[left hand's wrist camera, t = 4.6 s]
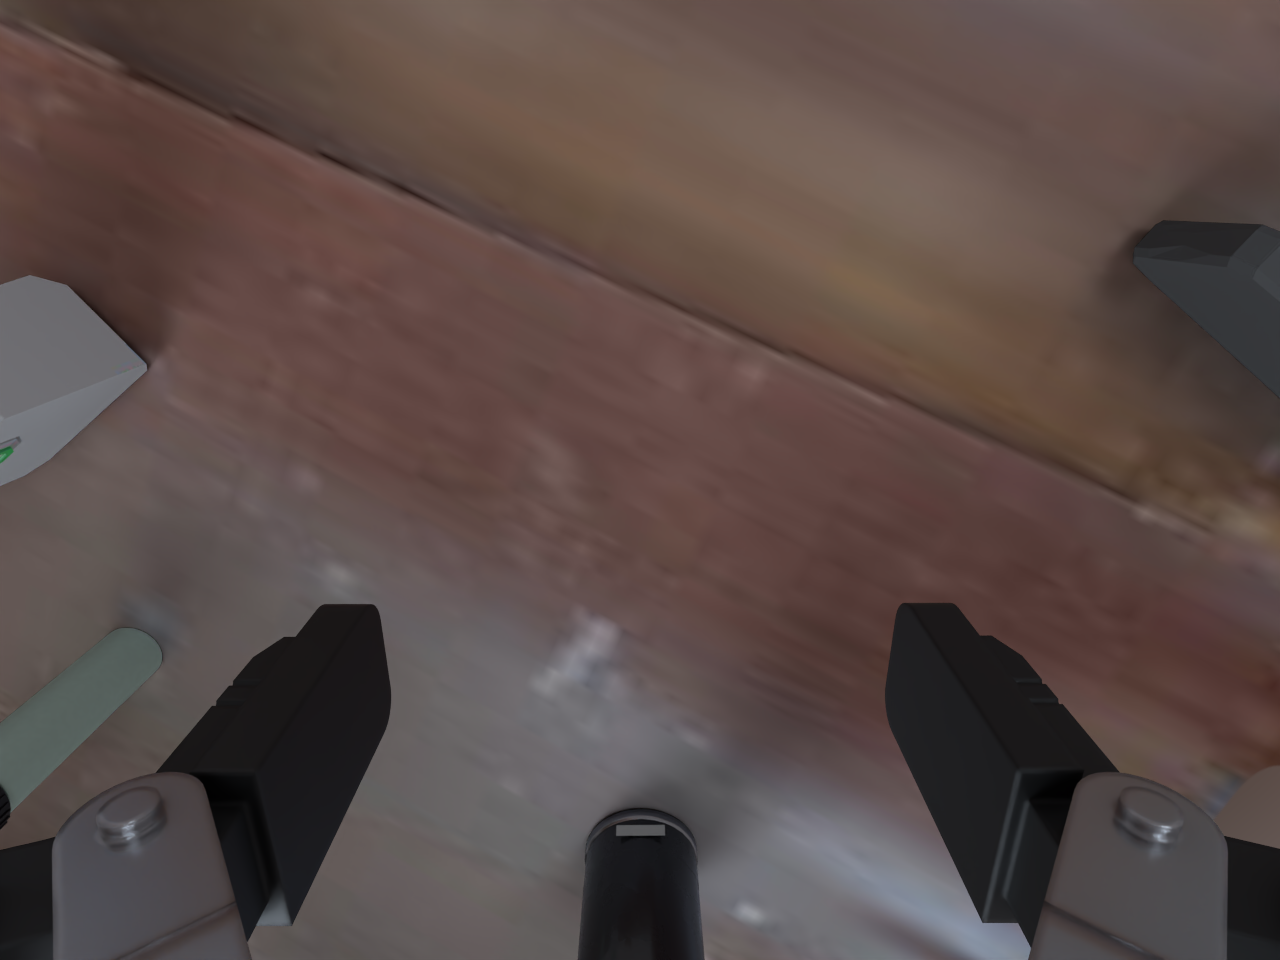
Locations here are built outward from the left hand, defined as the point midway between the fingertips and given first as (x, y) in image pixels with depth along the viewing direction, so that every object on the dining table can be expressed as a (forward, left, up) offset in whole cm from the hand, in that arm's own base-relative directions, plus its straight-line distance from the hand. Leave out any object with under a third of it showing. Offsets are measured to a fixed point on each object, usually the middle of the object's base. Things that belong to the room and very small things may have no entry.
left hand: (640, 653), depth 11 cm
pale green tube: (-25, +38, -37) cm, 59 cm away
